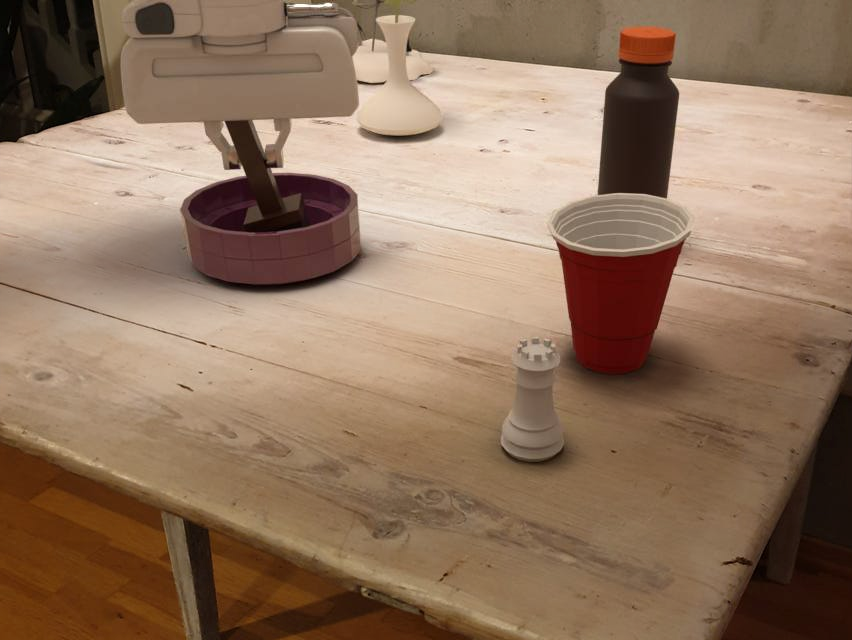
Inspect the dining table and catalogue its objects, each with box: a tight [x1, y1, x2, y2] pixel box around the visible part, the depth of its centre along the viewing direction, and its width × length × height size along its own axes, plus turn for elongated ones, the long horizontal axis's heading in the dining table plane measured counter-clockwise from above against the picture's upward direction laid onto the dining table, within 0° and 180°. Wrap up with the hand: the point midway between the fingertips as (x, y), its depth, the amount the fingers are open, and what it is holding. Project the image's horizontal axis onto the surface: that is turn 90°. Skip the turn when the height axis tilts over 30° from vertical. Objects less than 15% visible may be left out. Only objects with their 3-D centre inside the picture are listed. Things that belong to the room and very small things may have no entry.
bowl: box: [179, 172, 362, 286], centre depth 93 cm, size 16×16×6 cm
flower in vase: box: [355, 0, 444, 137], centre depth 122 cm, size 13×11×25 cm
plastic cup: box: [546, 193, 695, 375], centre depth 75 cm, size 11×11×12 cm
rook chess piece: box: [500, 336, 565, 463], centre depth 65 cm, size 4×4×8 cm
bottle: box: [596, 26, 680, 199], centre depth 92 cm, size 7×7×20 cm
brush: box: [224, 120, 311, 233], centre depth 90 cm, size 5×4×13 cm
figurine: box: [352, 0, 434, 84], centre depth 151 cm, size 20×18×16 cm
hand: (254, 167), depth 89 cm, fingers closed on brush, 2 cm apart
